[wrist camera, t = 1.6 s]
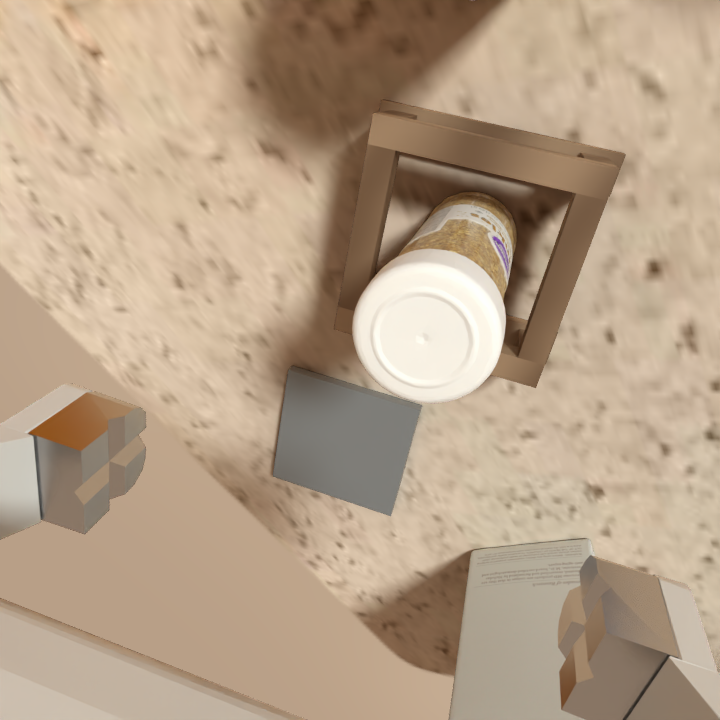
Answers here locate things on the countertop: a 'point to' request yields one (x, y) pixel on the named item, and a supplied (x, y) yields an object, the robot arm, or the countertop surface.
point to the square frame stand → (498, 156)
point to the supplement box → (515, 631)
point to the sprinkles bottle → (440, 303)
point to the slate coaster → (344, 439)
